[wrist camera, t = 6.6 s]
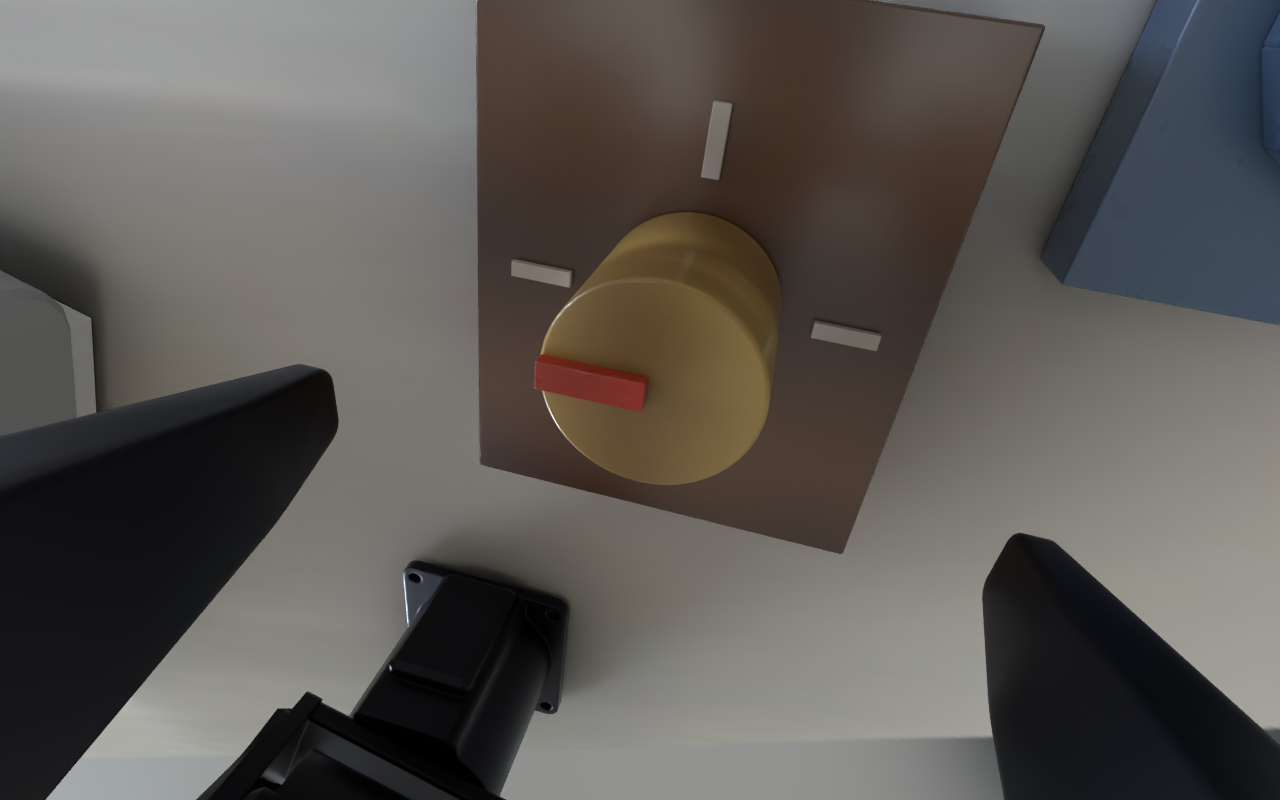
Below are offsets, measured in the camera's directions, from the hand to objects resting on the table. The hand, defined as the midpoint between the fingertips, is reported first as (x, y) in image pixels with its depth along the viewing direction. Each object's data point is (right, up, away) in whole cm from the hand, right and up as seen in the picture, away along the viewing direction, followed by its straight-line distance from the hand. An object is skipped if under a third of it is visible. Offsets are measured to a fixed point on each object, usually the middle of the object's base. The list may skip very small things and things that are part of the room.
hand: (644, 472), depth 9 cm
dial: (+1, +3, +6) cm, 7 cm away
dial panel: (+2, +5, +9) cm, 10 cm away
